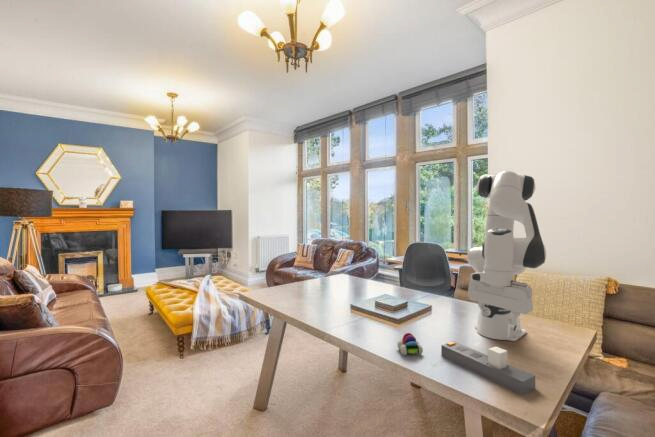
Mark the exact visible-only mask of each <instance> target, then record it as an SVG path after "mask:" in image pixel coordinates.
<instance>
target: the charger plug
mask: <svg viewBox="0 0 655 437" xmlns="http://www.w3.org/2000/svg"><path fill="white" fill-rule="evenodd" d="M487 355H488V365H490V366H492V367H495V368H497V369H499V370H502V369H504V368H506V367H507V364H508V350H507V349H504V348H501V347H499V346H496V345H495V346H493V347H490V348H488V352H487Z"/></svg>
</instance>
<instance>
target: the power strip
mask: <svg viewBox="0 0 655 437" xmlns="http://www.w3.org/2000/svg"><path fill="white" fill-rule="evenodd" d="M440 353H441V354H440V355H441V357H443V358H446V359H448V360H450V361H451V362H454V363H455V364H458V365H460V366H462V367H463V368H465V369H468V370H470V371H472V372H474V373H476V374H478V375H481V376H482V377H484V378H485V379H489V380H491V381H493V382H495V383H497V384H499V385H501V386H503V387H505V388H507V389H509V390H510V391H513V392H516V393H518V394H519V395H521V396H524V395H525V394H527V393H529V392H531V391H534V390H535V389H536V375H535V374H533V373H531V372H528V371H525V370H523V369H521V368H520V367H519V368H518V367H516V366H513V365H511V364H509V363H507V367H506V368H504V369H502V370H499V369H497V368H495V367H492V366H490V365H488V354H485V353H483V352H481V351H478V350H476V349H473V348H471V347H468V346H466V345H464V344H462V343H460V342H457V341H454V340H453V341H449V342H446V343H444V344H441V352H440Z"/></svg>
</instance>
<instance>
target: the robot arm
mask: <svg viewBox="0 0 655 437" xmlns="http://www.w3.org/2000/svg"><path fill="white" fill-rule="evenodd" d="M476 191H477V195H478V196H479V197H481V198H483V199H484V198H485V199H489V204H488V208H487V212H486V220H485V227H484V228H485V229H484V230H485V239H484V242H483V243H482V244H481V246H474V247H471V248H470V249H469V250H468V251H467V254H466V255H467V256H466V260H467V263H468V265H469V266H471V267H472V269H473V270H474V271H475V272H472V273H470V274H469V279H470V281H469V283H468V288H467V289H468V290H467V296H468V298H469V299H470V300H471V301H474V302H478V303H477V305H478V308H479V309H480V310H479V311H478V312H477V314H478V315H477V323H476V325H474V328H475V329H476V332H477V333H478V334H479V335H481V336H483V337H484V338H485V337H486V338H489V339H493V340H499V341H500V340H501V341H502V340H503V341H511V342H516V341H517V340H520V338H522V336H524V335H526V334H527V330H526V329H525V328H522V327H521V320H520V318H519V317H520V316H521V315H528V314H529V315H530V314H531V313H532V312H533V310H534V304H533V289H532V287H531V286H530V285H528V283H526V282H520V281H517V280H515V275H521V274H522V273H524V272H525V270H526V269H528V268H529V269H537V268H539V267H540V266H541V267H542V265H543V264H545V261H546V259H547V249H546V246H545V244H544V241H543V239H542V236H541V232H540V228H539V225H538V221H537V217H536V214H535V210H534V208H533V205H532V204H531V203H529V202H526V201H528V200H530V199H531V198H532V197H533V195H534V194H535V191H536V182H535V179H534V177H532V176H530V175H526V174H524V175H522V174H517V173H515V172H513V171H510V170H507V171H505V170H504V171H501V172H499V173H498V174H497V173H495V174H493V173H492V174H490V173H486V174H482V175H481V176H480V177H479V179H478V181H477V183H476ZM515 221H516V222H519V223H521V224H522V225H523V226H524V227H523V228H524V231H525V232H524V233H525V237H514V229H515V228H514V227H515Z"/></svg>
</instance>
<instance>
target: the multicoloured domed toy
mask: <svg viewBox="0 0 655 437" xmlns="http://www.w3.org/2000/svg"><path fill="white" fill-rule="evenodd" d="M397 348H398V350H400V353H401V354H402V355H403V356H407V355H408V354H412V355H413V354H417V356H420V355H422V353H423V352H424V350H423V346H422V345H421V344H420V342H419V341H418V340H417V338H416V337H415V335H413V333H411V332H407V333H405V334H404V335H403V337H402V339H400V340H399V341H397Z"/></svg>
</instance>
